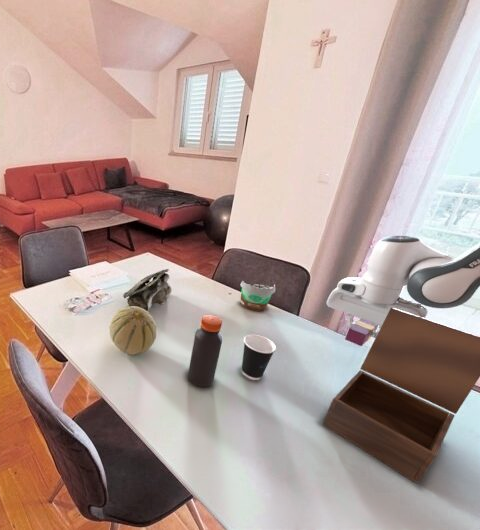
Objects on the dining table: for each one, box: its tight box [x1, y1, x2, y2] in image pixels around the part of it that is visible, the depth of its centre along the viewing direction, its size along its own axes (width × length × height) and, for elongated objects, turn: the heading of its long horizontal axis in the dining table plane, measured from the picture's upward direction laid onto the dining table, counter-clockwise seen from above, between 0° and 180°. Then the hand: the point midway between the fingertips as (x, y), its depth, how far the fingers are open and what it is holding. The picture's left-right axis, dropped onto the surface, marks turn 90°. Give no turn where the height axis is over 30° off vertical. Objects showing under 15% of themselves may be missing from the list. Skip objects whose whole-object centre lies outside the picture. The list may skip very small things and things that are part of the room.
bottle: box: [187, 314, 223, 388], centre depth 84 cm, size 7×7×20 cm
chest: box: [321, 369, 456, 485], centre depth 71 cm, size 17×17×8 cm
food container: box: [239, 280, 276, 312], centre depth 121 cm, size 12×6×10 cm, turn 73°
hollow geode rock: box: [122, 268, 173, 312], centre depth 124 cm, size 28×13×15 cm
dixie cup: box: [241, 334, 277, 381], centre depth 88 cm, size 8×8×11 cm
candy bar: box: [344, 318, 379, 347], centre depth 93 cm, size 4×11×4 cm, turn 124°
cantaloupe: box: [109, 306, 157, 356], centre depth 98 cm, size 15×15×15 cm
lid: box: [359, 307, 480, 415], centre depth 72 cm, size 17×17×5 cm
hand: (361, 331), depth 94 cm, fingers closed on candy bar, 4 cm apart
